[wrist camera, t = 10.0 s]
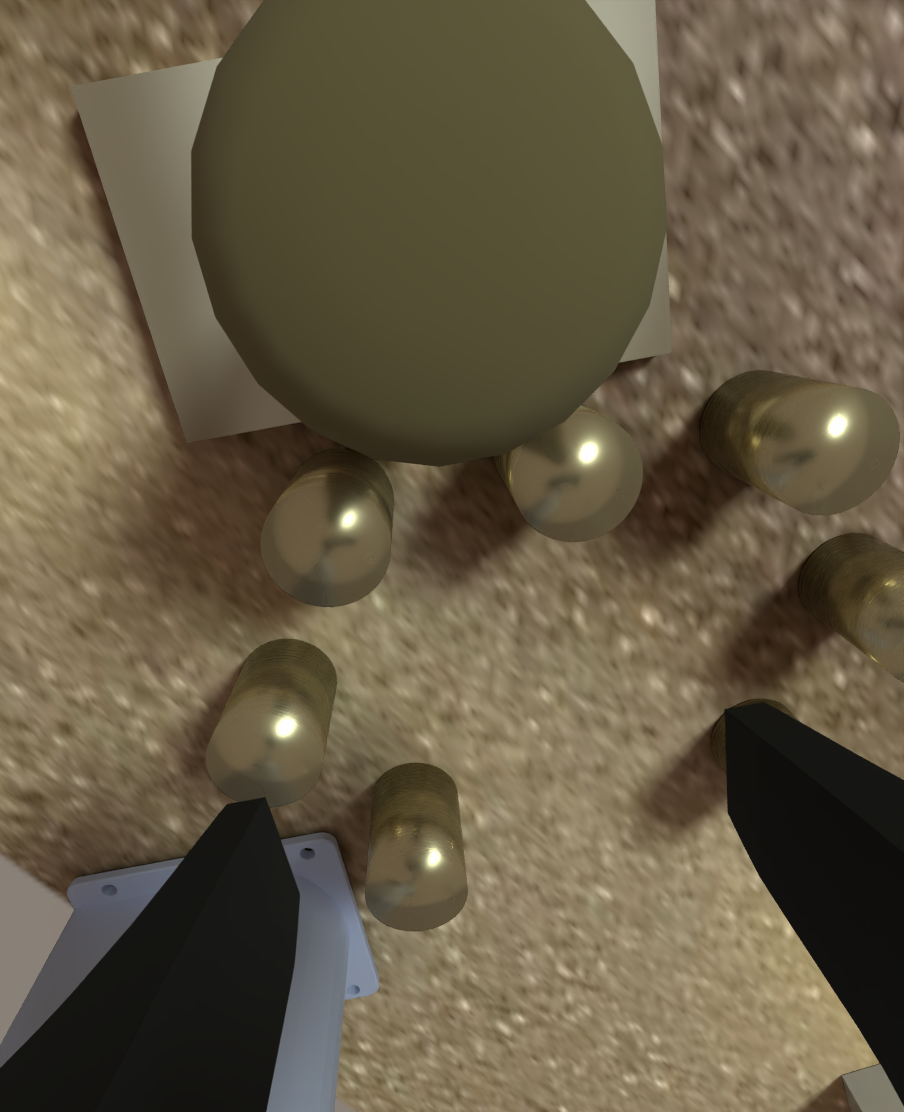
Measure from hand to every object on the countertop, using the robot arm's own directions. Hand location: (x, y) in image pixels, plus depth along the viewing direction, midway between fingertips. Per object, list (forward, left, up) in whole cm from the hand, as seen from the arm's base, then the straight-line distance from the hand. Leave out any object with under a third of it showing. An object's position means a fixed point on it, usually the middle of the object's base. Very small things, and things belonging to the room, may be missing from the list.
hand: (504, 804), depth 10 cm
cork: (0, +8, -10) cm, 13 cm away
